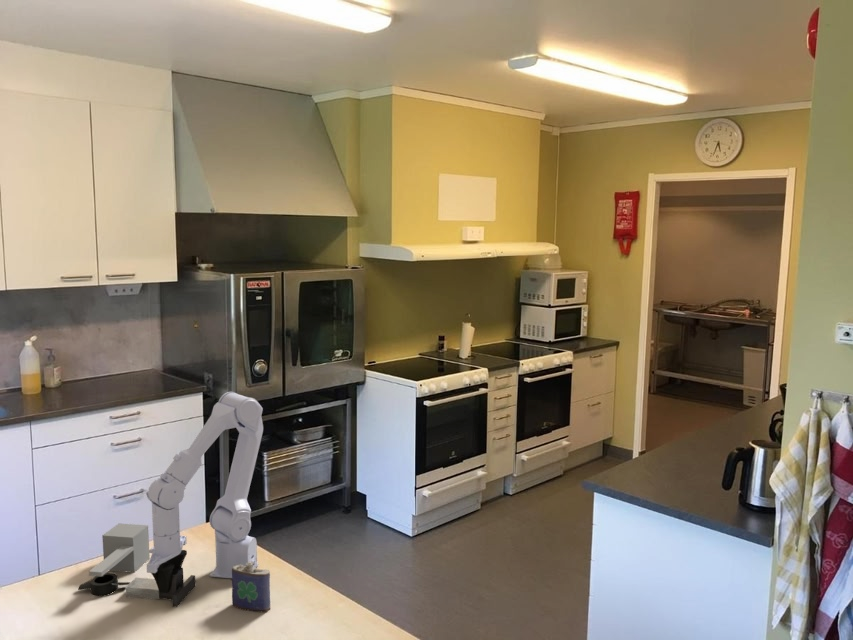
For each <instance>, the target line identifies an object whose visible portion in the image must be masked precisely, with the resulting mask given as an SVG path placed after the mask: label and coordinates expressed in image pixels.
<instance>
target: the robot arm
mask: <svg viewBox="0 0 853 640" xmlns="http://www.w3.org/2000/svg"><path fill="white" fill-rule="evenodd" d="M263 409H264V408H263V407H262V405H261V404H260V403H259V401H258V400H257V399H256V398H254V397H249V396H244V395H242V394H239V393H236V392H234V391H228V392H224V393H223V394H222V395H221V396H220V398H219V400H218V402H216V403H215V404H214V405H213V408H212V410H211V414H210V415H209V417H208V419H207V421H206V422H205V424H204V425H203V427H202V428H201V430H200V431H199V433H198V434H197V435H196V437H195V439H194V441H193V442H192V443H191V445H190V447H189V448H187V449H184V450H180V452H179V453H176V454H175V455H174V456H173V457H172V459H173V461H172V462H171V464H170V465H169V466H168V467H167V468H166V470H165V471H164V472H163V473H161V475H160V476H159V478H157V479H155V480H154V481H152V482H151V484H150V486H149V487H148V491H147V492H146V493H145V495H146V498H147V499H148V501H150V502H151V510H152V511H151V512H152V513H151V514H152V515H151V517H152V518H151V519H152V535H153V536H152V537H153V542H152V543H153V546H152V547H150V548H149V554H151V556H150V559H149V560H148V561H147V564H146V573H150V574H151V575H152V577H153V579H155V581H156V584H157V586H158V589H159V592H160V593H168V592H169V590H170V583H171V574H172V571H173V568H174V567H179V568H183V567H182V566H183V563H184V561H185V558H186V557H187V554H188V552H187V550H186V549H183V547H184V546H186V545H187V544H188V543H187V536H186V535H181V527H180V525H181V524H180V522H181V521H180V520H181V519H180V503H181V502H182V501H183V499H184V497H185V490H186V487H187V485H188V484H189V483H190V482H191V479H192V478H193V477H195V475H196V473H197V472H198V470H199V469H200V468H201V466H202V457H203V456H204V455H205V453H206V452H207V451H208V449H210V447H211V446H212V445H213V444H214V443H215V442H216V440H217V439H218V438H219V436H220V435H221V434H222V433H223V432H224V431H225V430H230V429H235V428H236V430H237V432H238V433H239V434H238V436H237V440H236V441H237V442H236V445H235V446H236V447H235V451H234V453H233V458H232V463H231V466H230V470H229V471H230V472H229V475H228V479H227V483H226V487H225V492H224V495H222V496H221V497H220V498H219V499H217V500H216V504H215V507H214V509H213V510H212V512H211V514H210V516H209V521H208V522H209V526H210V527H211V528H212V529H213V530H214V536H215V544H214V545H215V565H216V566H215V568H214V569H213V570H212V571H211V572H210V574H209V577H211V578H221V579H232V568H233V567H234V566H236V565H240V564H242V565H243V566H245V567H246V563H248V562H250V563H252V562H251V561H253V562H254V564H253V568H254V569H257V567H258V565H259V562H258V543H257V538H256V537H253V536H249V533H250V530H251V529H252V528H251V527H252V521H251V514H252V509H251V507H250V504H249V502H248V495H249V492H250V488H251V487H250V486H251V483H252V479H253V475H254V471H255V467H256V463H257V458H258V453H259V451H260V450H259V449H260V446H261V442H262V438H263V437H262V436H263V433H264V424H263V423H264V422H263V419H262V418H263V417H262V414H263V411H264V410H263Z"/></svg>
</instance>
